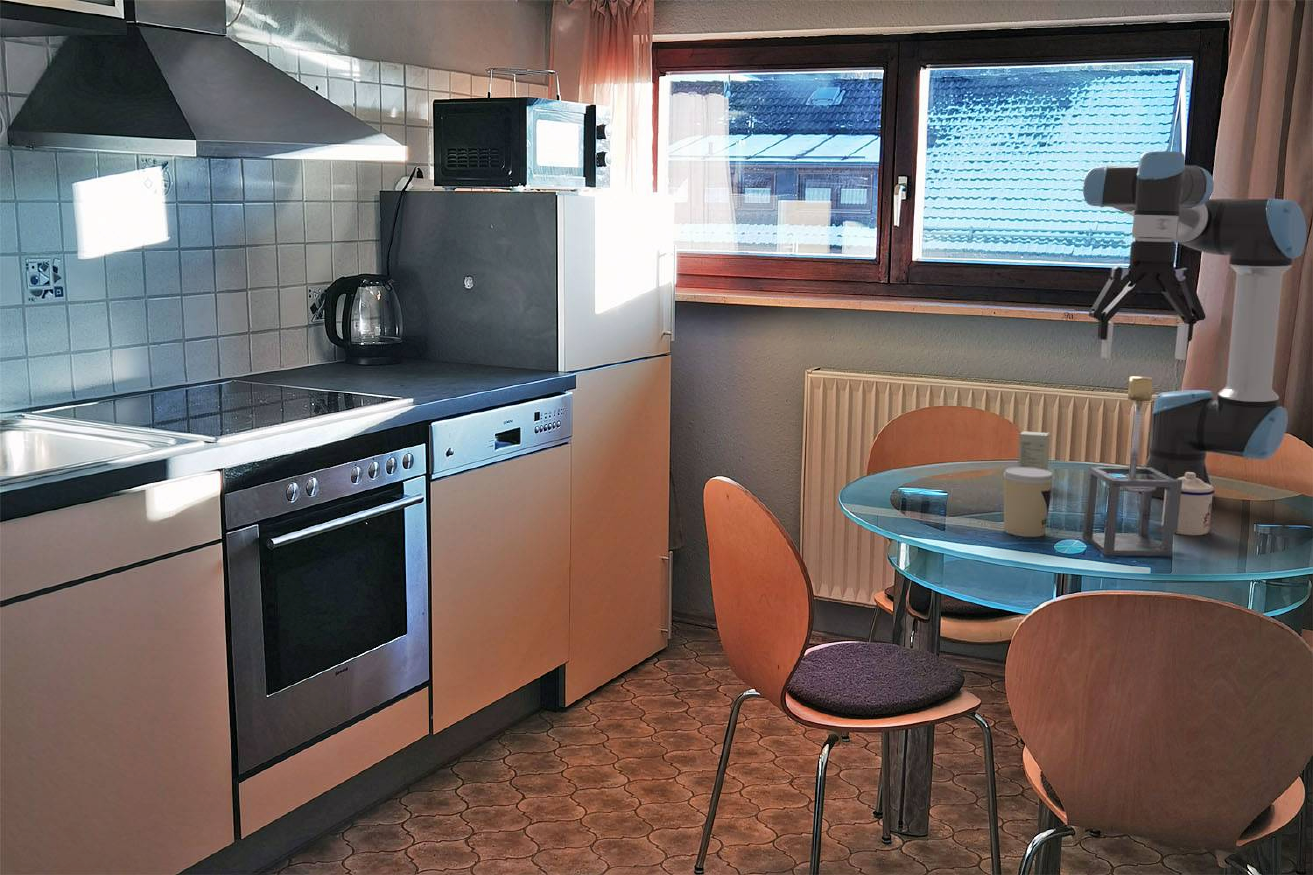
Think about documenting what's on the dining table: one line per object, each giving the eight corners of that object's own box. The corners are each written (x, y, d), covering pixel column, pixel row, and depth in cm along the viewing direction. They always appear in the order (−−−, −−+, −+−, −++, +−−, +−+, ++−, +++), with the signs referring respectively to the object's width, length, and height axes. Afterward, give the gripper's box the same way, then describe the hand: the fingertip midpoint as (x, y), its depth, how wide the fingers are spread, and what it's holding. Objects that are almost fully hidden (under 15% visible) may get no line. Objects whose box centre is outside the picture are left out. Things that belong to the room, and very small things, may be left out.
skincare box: (1047, 485, 274) (1051, 432, 272) (1044, 488, 270) (1048, 435, 268) (1018, 481, 277) (1022, 430, 274) (1015, 485, 273) (1019, 433, 271)
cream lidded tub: (1052, 539, 229) (1057, 478, 226) (1001, 536, 231) (1005, 475, 228) (1046, 527, 238) (1051, 468, 235) (997, 523, 240) (1002, 465, 237)
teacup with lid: (1214, 537, 232) (1221, 479, 229) (1164, 534, 234) (1170, 476, 231) (1200, 522, 243) (1206, 466, 241) (1153, 519, 245) (1158, 463, 243)
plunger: (1144, 481, 226) (1154, 374, 223) (1163, 492, 218) (1174, 381, 214) (1100, 481, 226) (1109, 374, 222) (1117, 491, 218) (1127, 380, 214)
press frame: (1160, 538, 230) (1167, 467, 228) (1188, 556, 219) (1195, 482, 216) (1082, 537, 230) (1088, 466, 228) (1105, 555, 219) (1112, 480, 216)
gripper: (1092, 239, 210) (1081, 359, 214) (1233, 242, 210) (1220, 362, 214) (1077, 238, 217) (1067, 354, 221) (1213, 241, 217) (1201, 357, 221)
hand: (1142, 358), depth 218 cm, fingers open, 13 cm apart
